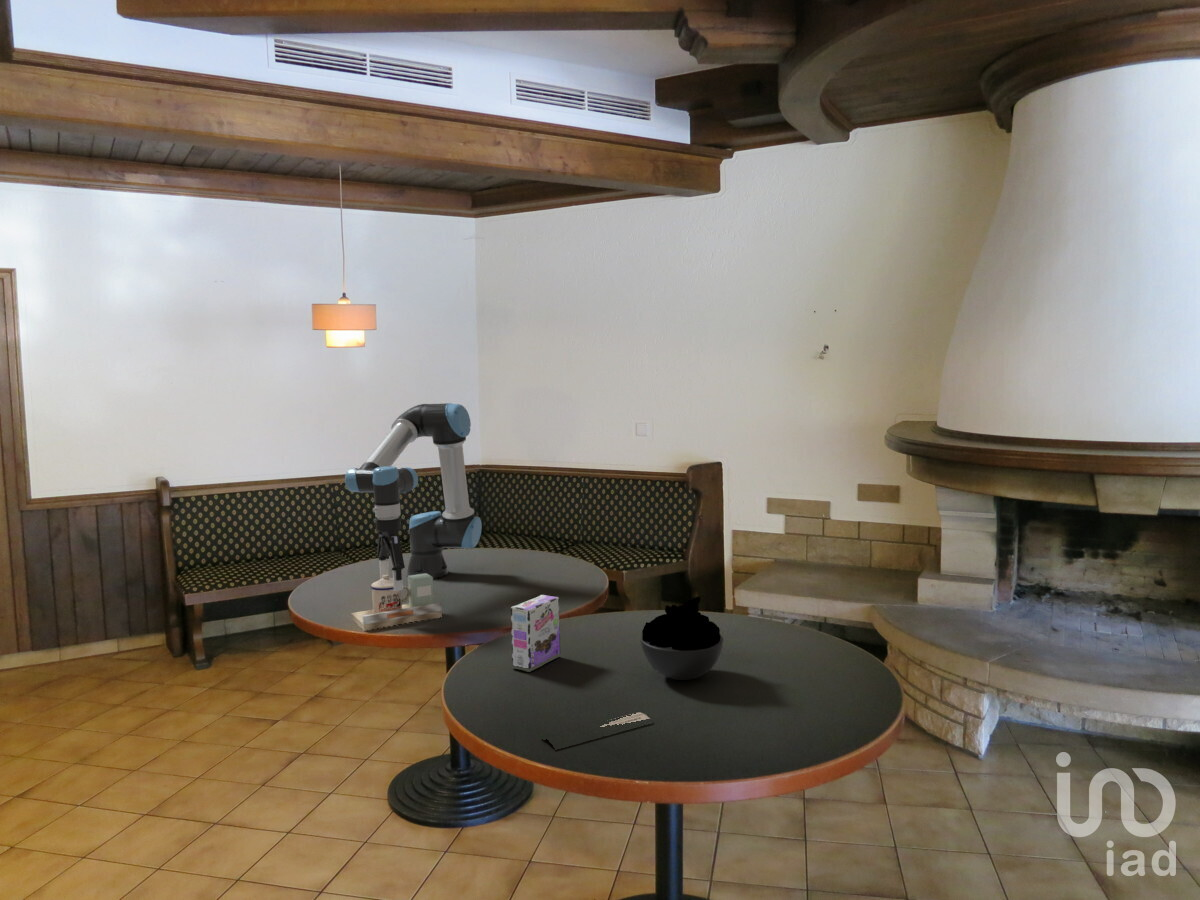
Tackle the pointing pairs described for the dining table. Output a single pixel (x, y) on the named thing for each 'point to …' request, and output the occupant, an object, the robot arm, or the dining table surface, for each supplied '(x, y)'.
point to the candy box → (535, 631)
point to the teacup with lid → (386, 595)
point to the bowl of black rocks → (682, 642)
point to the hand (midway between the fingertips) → (391, 585)
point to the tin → (420, 590)
